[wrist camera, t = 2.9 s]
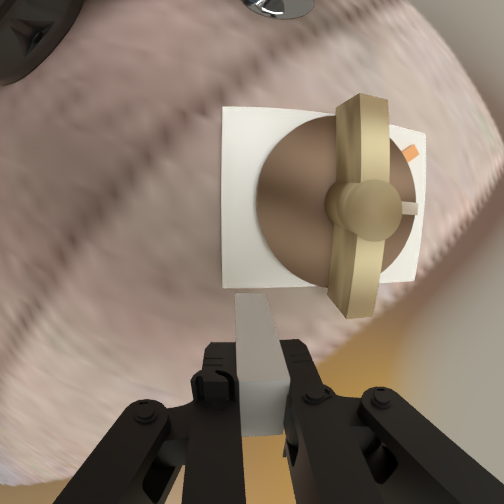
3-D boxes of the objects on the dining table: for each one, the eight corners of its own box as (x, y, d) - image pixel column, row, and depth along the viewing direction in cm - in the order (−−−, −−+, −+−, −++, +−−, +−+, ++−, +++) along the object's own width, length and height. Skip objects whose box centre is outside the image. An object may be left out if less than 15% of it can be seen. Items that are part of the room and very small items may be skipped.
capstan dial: (257, 106, 18) (267, 77, 12) (407, 127, 19) (452, 118, 13) (254, 289, 21) (262, 328, 16) (396, 283, 22) (434, 310, 17)
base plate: (223, 111, 19) (222, 104, 17) (416, 135, 21) (429, 133, 19) (223, 281, 23) (222, 291, 21) (406, 275, 24) (417, 282, 22)
